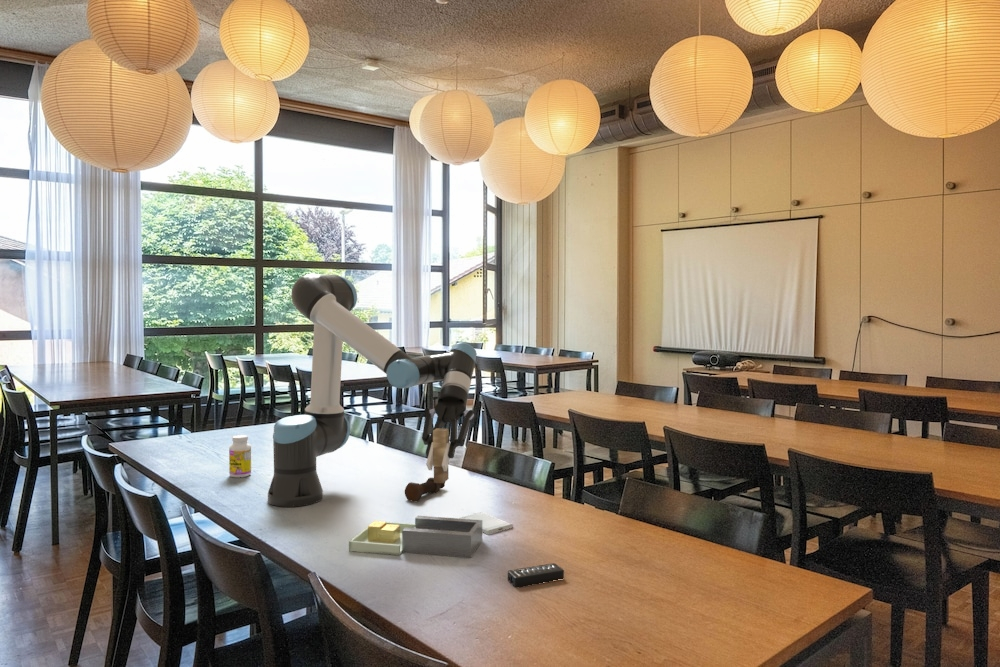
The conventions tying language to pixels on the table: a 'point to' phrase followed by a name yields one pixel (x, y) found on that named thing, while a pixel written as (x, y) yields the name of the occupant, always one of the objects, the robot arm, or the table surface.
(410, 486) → the bolt
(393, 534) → the tan wooden block
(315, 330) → the robot arm
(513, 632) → the table surface
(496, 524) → the hard drive
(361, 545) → the tray
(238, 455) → the supplement bottle
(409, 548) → the gray open box
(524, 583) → the multiport hub
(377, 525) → the light wood block
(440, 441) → the tan wooden pedestal block
